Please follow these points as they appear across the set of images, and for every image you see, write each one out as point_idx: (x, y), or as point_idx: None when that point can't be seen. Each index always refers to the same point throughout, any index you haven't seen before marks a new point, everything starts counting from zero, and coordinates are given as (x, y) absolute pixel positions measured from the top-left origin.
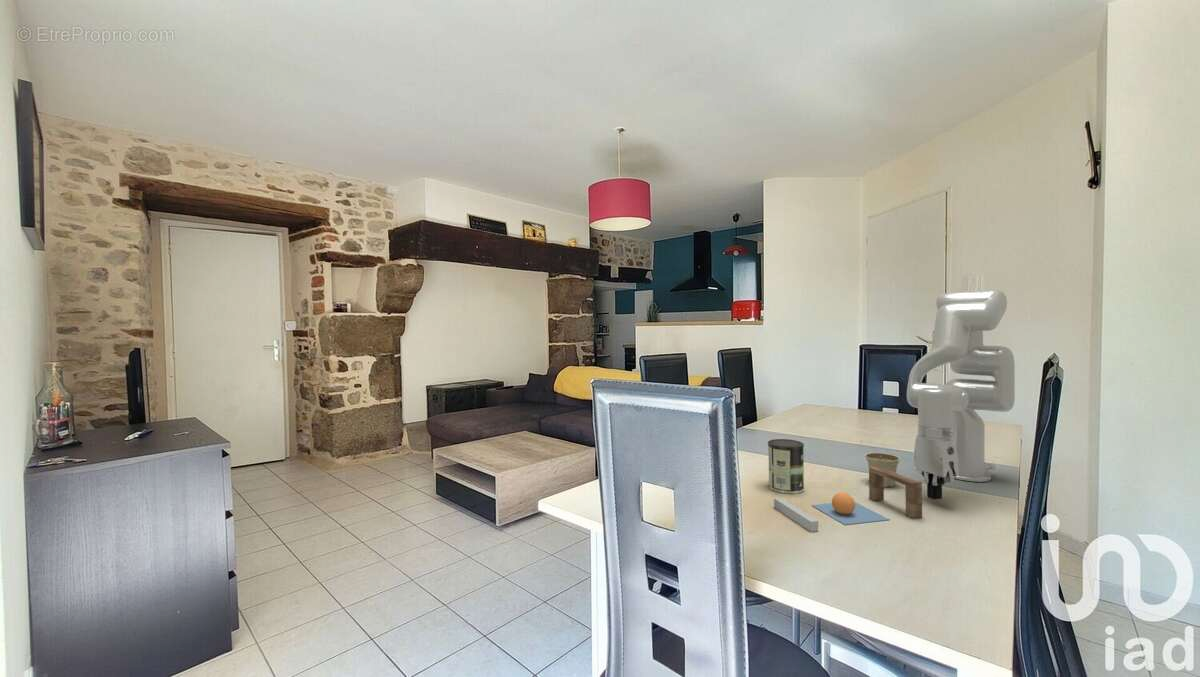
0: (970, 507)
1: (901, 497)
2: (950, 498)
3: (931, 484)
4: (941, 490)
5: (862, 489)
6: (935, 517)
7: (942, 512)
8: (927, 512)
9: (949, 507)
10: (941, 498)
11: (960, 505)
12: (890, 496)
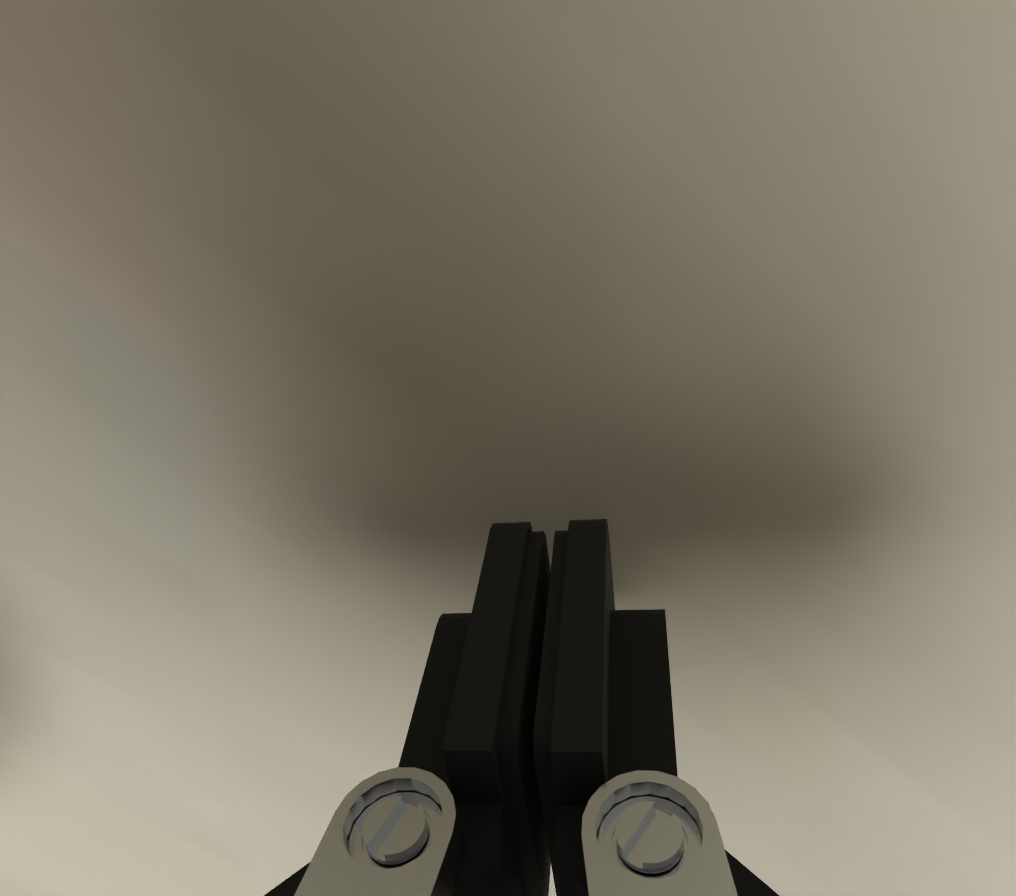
0: (903, 39)
1: (293, 733)
2: (326, 31)
3: (532, 886)
4: (671, 706)
5: (51, 883)
6: (993, 843)
7: (899, 679)
8: (828, 813)
9: (767, 450)
10: (606, 521)
11: (740, 169)
12: (262, 804)
